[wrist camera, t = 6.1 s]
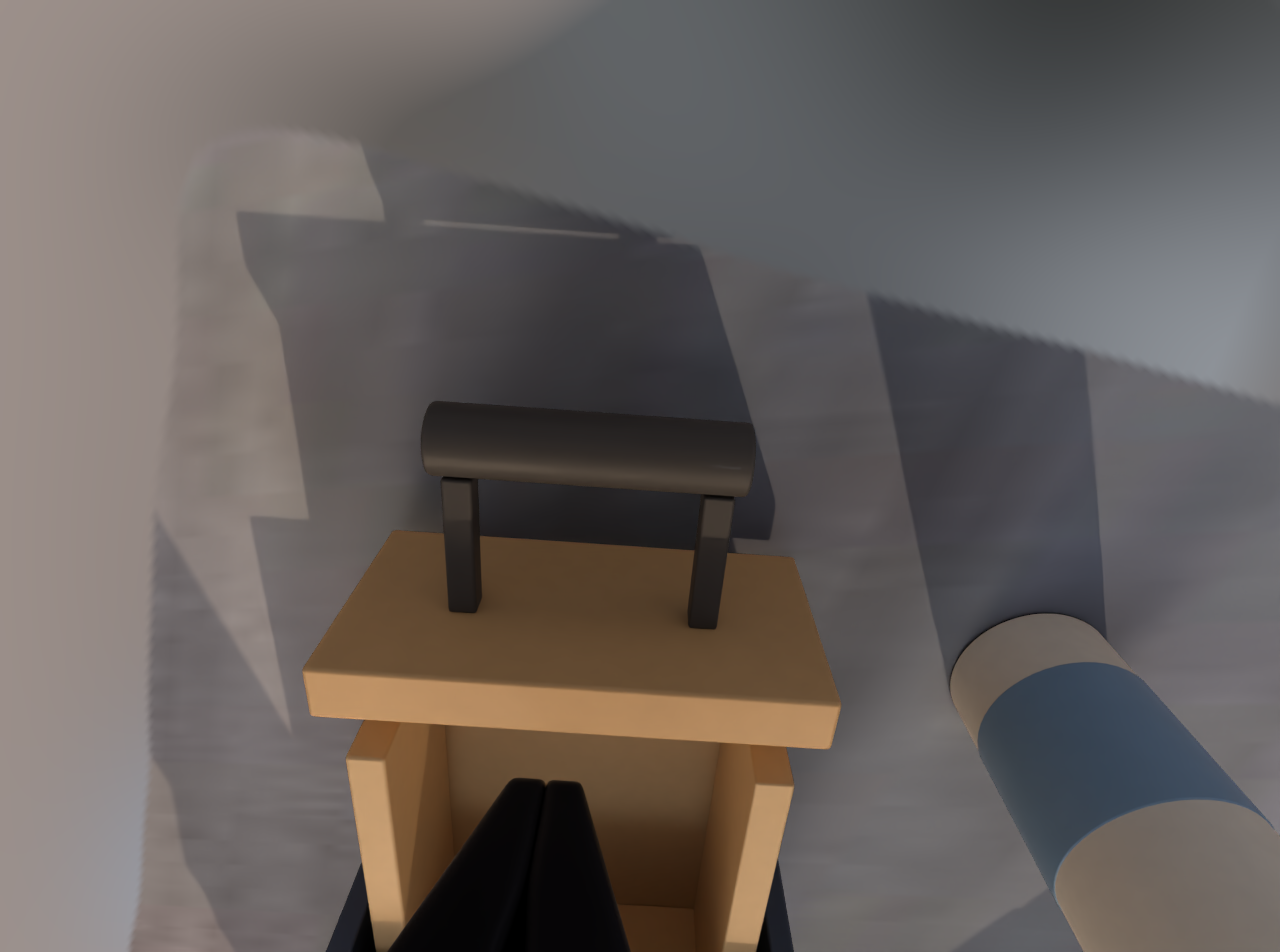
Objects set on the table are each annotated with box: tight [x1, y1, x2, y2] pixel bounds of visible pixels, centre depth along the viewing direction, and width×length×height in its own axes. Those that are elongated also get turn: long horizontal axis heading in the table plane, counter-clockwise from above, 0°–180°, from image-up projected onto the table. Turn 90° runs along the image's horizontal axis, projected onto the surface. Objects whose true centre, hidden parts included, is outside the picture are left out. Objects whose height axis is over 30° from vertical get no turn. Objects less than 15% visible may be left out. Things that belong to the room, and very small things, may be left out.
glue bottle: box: [950, 614, 1280, 952], centre depth 15 cm, size 4×4×12 cm
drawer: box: [303, 401, 841, 952], centre depth 17 cm, size 18×10×5 cm, turn 176°
